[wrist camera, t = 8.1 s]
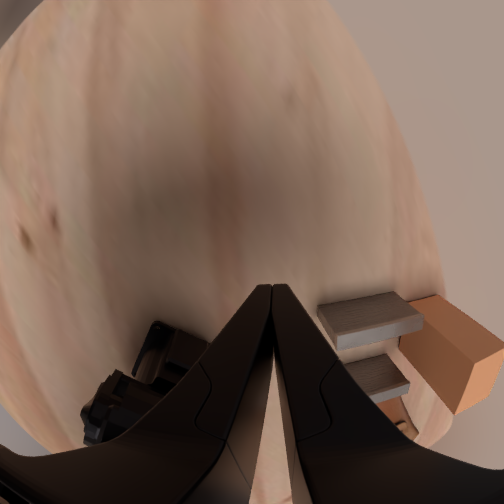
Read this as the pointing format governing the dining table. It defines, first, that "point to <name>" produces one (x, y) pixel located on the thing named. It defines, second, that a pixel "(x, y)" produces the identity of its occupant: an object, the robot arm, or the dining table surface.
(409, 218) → the dining table surface
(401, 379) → the silver twin-wall channel
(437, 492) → the robot arm
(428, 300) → the block
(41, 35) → the dining table surface
